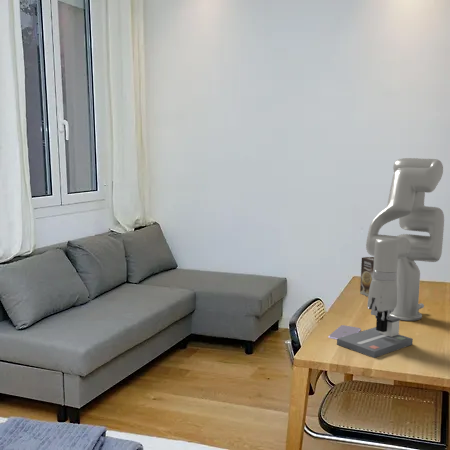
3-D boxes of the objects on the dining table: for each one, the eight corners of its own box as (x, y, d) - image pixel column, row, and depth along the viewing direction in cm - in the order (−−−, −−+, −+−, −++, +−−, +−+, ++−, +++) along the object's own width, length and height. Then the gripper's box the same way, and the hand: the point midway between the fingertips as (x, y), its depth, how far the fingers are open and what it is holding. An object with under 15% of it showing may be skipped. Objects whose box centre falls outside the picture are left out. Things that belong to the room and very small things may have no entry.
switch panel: (375, 332, 207) (375, 326, 207) (412, 344, 195) (412, 338, 195) (336, 344, 195) (337, 338, 194) (374, 357, 183) (374, 351, 183)
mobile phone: (361, 327, 210) (349, 339, 197) (361, 330, 211) (349, 342, 198) (341, 324, 214) (327, 335, 201) (341, 326, 214) (327, 338, 201)
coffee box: (359, 293, 259) (360, 257, 257) (371, 292, 262) (372, 256, 260) (372, 298, 251) (374, 261, 249) (384, 297, 254) (386, 260, 252)
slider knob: (386, 330, 202) (386, 314, 202) (399, 334, 198) (399, 318, 198) (378, 332, 200) (379, 317, 199) (391, 337, 196) (392, 320, 195)
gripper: (389, 272, 201) (386, 324, 203) (360, 276, 192) (357, 331, 194) (408, 276, 195) (404, 330, 197) (379, 280, 186) (376, 337, 188)
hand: (381, 330), depth 196 cm, fingers closed
